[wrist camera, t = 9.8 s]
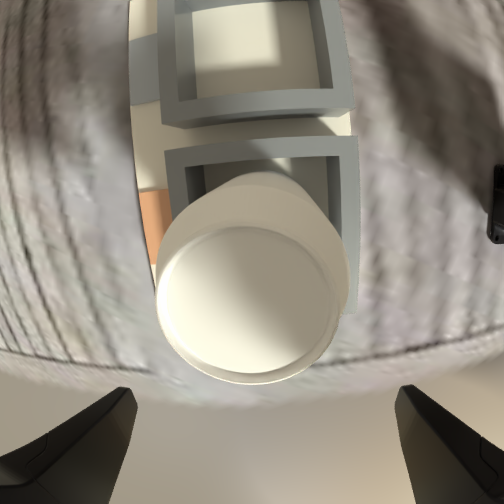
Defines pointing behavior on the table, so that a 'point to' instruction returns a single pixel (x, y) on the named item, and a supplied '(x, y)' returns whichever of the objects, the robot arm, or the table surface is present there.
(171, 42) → the socket board
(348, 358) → the table surface
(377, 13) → the table surface
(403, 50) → the table surface
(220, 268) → the beverage can
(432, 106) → the table surface
